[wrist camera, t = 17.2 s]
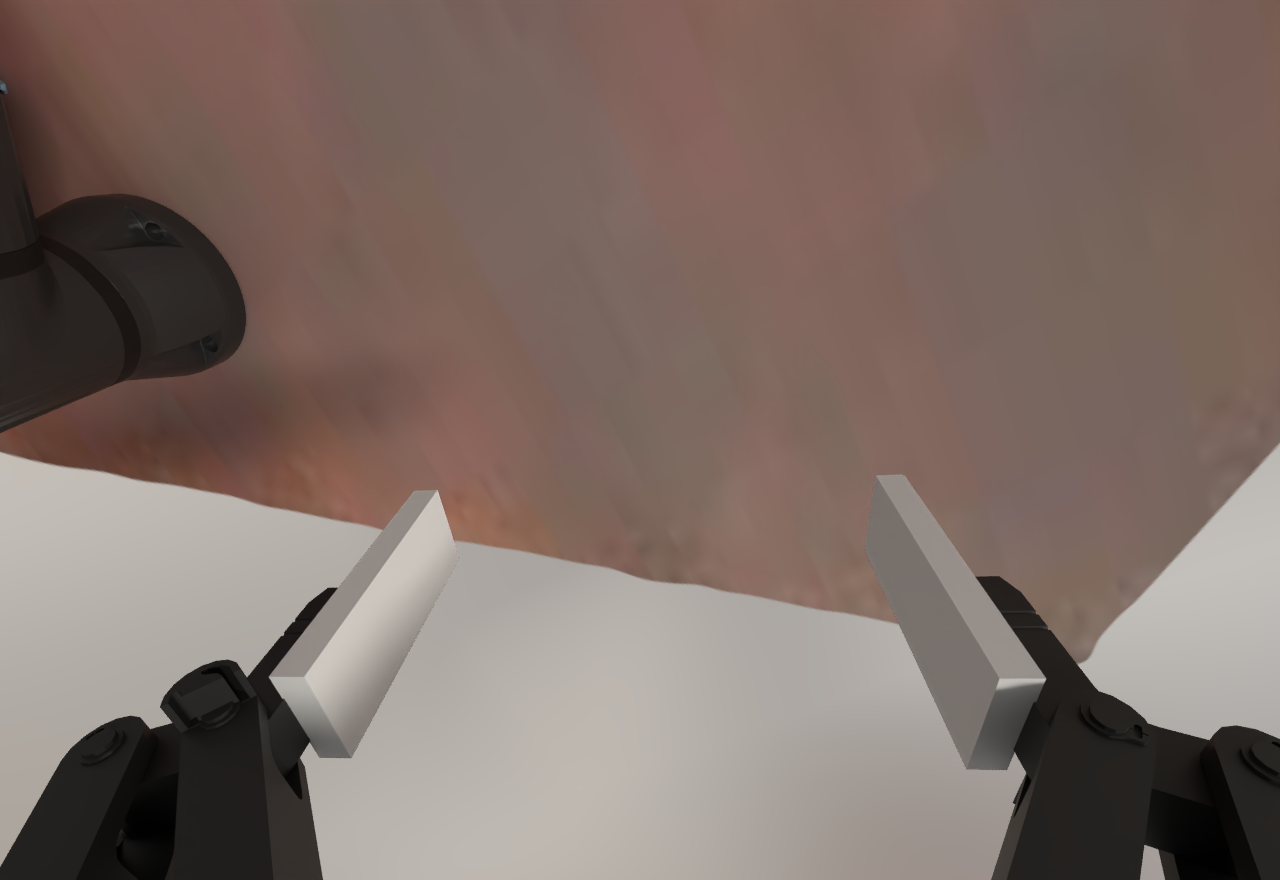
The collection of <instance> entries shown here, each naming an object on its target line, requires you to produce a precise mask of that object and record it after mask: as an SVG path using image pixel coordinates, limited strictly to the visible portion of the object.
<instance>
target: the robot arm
mask: <svg viewBox="0 0 1280 880" xmlns="http://www.w3.org/2000/svg"><path fill="white" fill-rule="evenodd" d="M3 94H8V91H7V87H6V85H5V83H4V82H2V81H1V80H0V433H1V432H4V431H6V430H8V429H11V428H13V427H15V426H18V425H20V424H22V423H25V422H27V421H29V420H32V419H34V418H37V417H39V416H41V415H44V414H46V413H48V412H51V411H53V410H55V409H58V408H60V407H62V406H65V405H67V404H69V403H72V402H74V401H76V400H79V399H81V398H84V397H86V396H88V395H91V394H93V393H96V392H98V391H100V390H103V389H105V388H107V387H110V386H112V385H114V384H117V383H120V382H122V381H125V380H138V379H151V378H163V377H176V376H186V375H191V374H195V373H199V372H202V371H204V370H207V369H209V368H211V367H213V366H215V365H217V364H220V363H222V362H224V361H225V360H227V359H228V358H229V357H230V356H232V355H233V354H234V353H235V351H236V350H237V349H238V347H239V345H240V343H241V341H242V339H243V336H244V332H245V325H246V313H245V306H244V301H243V297H242V293H241V290H240V288H239V285H238V283H237V280H236V278H235V276H234V274H233V272H232V271H231V269H230V267H229V265H228V264H227V262H226V261H225V259H224V258H223V256H222V255H221V254H220V252H219V251H218V250H217V249H216V247H215V246H214V245H213V244H212V243H211V242H210V241H209V240H208V238H207V237H206V236H205V235H204V234H202V233H201V232H200V231H199V230H198V229H197V228H196V227H195V226H194V225H192V224H191V223H190V222H188V221H187V220H186V219H184V218H183V217H182V216H180V215H178V214H177V213H175V212H174V211H172V210H170V209H168V208H167V207H165V206H163V205H160V204H158V203H156V202H153V201H151V200H148V199H145V198H142V197H138V196H133V195H126V194H109V195H96V196H86V197H81V198H77V199H73V200H70V201H68V202H66V203H64V204H62V205H60V206H58V207H56V208H54V209H53V210H51V211H49V212H47V213H45V214H43V215H41V216H40V217H38V218H36V219H35V216H34V212H33V208H32V205H31V201H30V197H29V193H28V189H27V186H26V182H25V178H24V174H23V170H22V167H21V163H20V159H19V155H18V151H17V148H16V144H15V140H14V136H13V132H12V129H11V125H10V121H9V117H8V113H7V110H6V106H5V102H4V98H3ZM865 553H866V555H867V557H868V559H869V561H870V563H871V565H872V568H873V570H874V572H875V574H876V576H877V578H878V580H879V583H880V585H881V587H882V589H883V591H884V593H885V595H886V598H887V600H888V602H889V604H890V606H891V608H892V610H893V613H894V615H895V617H896V619H897V621H898V623H899V626H900V628H901V630H902V632H903V634H904V636H905V638H906V641H907V643H908V645H909V647H910V649H911V651H912V653H913V656H914V658H915V660H916V662H917V664H918V666H919V668H920V671H921V673H922V675H923V677H924V679H925V681H926V683H927V686H928V688H929V690H930V692H931V694H932V696H933V698H934V701H935V703H936V705H937V707H938V709H939V711H940V713H941V716H942V718H943V720H944V722H945V724H946V726H947V728H948V730H949V732H950V735H951V737H952V739H953V741H954V743H955V746H956V748H957V750H958V752H959V754H960V756H961V758H962V761H963V763H964V765H965V767H966V769H979V770H980V769H981V770H985V769H986V770H1007V769H1008V766H1009V764H1010V762H1011V759H1012V757H1013V755H1014V752H1015V753H1016V755H1017V757H1018V759H1019V760H1020V762H1021V764H1022V766H1023V768H1024V769H1025V771H1026V775H1025V777H1024V780H1023V782H1022V784H1021V786H1020V788H1019V790H1018V793H1017V795H1016V797H1015V799H1014V801H1013V803H1014V804H1015V807H1014V810H1013V813H1012V816H1011V820H1010V823H1009V826H1008V829H1007V832H1006V836H1005V838H1004V841H1003V845H1002V848H1001V851H1000V854H999V857H998V860H997V864H996V866H995V870H994V873H993V876H992V879H991V880H1140V874H1141V866H1142V859H1143V851H1144V845H1147V846H1150V847H1153V848H1156V849H1158V850H1159V854H1160V859H1161V863H1162V867H1163V872H1164V876H1165V880H1280V739H1278V738H1276V737H1274V736H1271V735H1269V734H1266V733H1264V732H1261V731H1259V730H1256V729H1251V728H1246V727H1242V726H1228V727H1221V728H1220V729H1219V730H1218V731H1217V732H1216V733H1215V734H1214V735H1213V736H1212V738H1211V739H1210V740H1206V739H1202V738H1199V737H1195V736H1191V735H1187V734H1183V733H1179V732H1176V731H1171V730H1168V729H1164V728H1160V727H1157V726H1154V725H1151V724H1148V723H1147V721H1146V720H1145V719H1144V718H1143V717H1142V716H1141V715H1140V714H1138V713H1137V712H1136V711H1135V710H1134V709H1133V708H1132V707H1130V706H1129V705H1127V704H1125V703H1124V702H1122V701H1120V700H1118V699H1117V698H1115V697H1113V696H1111V695H1108V694H1105V693H1102V692H1099V691H1098V690H1097V689H1096V688H1095V687H1094V686H1093V684H1092V683H1091V682H1090V680H1089V679H1088V678H1087V676H1085V674H1084V673H1083V671H1082V670H1081V669H1080V668H1079V666H1078V665H1077V664H1076V662H1075V661H1074V660H1073V658H1072V657H1071V656H1070V655H1069V653H1068V652H1067V651H1066V649H1065V648H1064V647H1063V646H1062V644H1061V643H1060V642H1059V640H1058V639H1057V638H1056V637H1055V635H1054V634H1053V633H1052V631H1051V630H1048V628H1047V625H1046V624H1045V622H1044V621H1043V620H1042V619H1041V617H1040V616H1039V615H1036V611H1035V610H1034V608H1033V607H1032V606H1031V604H1030V603H1029V602H1028V601H1027V599H1026V598H1025V597H1024V595H1023V594H1022V593H1021V592H1020V591H1019V590H1017V589H1016V588H1014V587H1013V586H1012V585H1010V584H1009V583H1008V582H1006V581H1005V580H1004V579H1002V578H1001V577H999V576H988V577H975V576H974V574H973V573H972V571H971V570H970V569H969V567H968V566H967V564H966V563H965V561H964V560H963V559H962V557H961V556H960V554H959V553H958V551H957V550H956V549H955V547H954V546H953V544H952V543H951V541H950V540H949V539H948V537H947V536H946V534H945V533H944V531H943V530H942V528H941V527H940V526H939V524H938V523H937V521H936V520H935V518H934V517H933V516H932V514H931V513H930V511H929V510H928V508H927V507H926V506H925V504H924V503H923V501H922V500H921V498H920V497H919V496H918V494H917V493H916V491H915V490H914V488H913V487H912V485H911V484H910V483H909V481H908V480H907V478H906V477H905V475H876V479H875V485H874V491H873V498H872V504H871V511H870V517H869V524H868V530H867V537H866V543H865ZM458 560H459V556H458V553H457V550H456V547H455V544H454V540H453V537H452V534H451V531H450V528H449V525H448V522H447V518H446V515H445V512H444V509H443V506H442V503H441V500H440V496H439V493H438V490H427V491H414V492H413V493H412V494H411V495H410V497H409V498H408V499H407V501H406V502H405V503H404V504H403V506H402V507H401V508H400V509H399V511H398V512H397V513H396V515H395V516H394V517H393V518H392V520H391V521H390V522H389V524H388V525H387V526H386V527H385V529H384V530H383V531H382V532H381V534H380V535H379V536H378V538H377V539H376V540H375V541H374V543H373V544H372V545H371V547H370V548H369V549H368V550H367V552H366V553H365V554H364V556H363V557H362V558H361V559H360V561H359V562H358V563H357V564H356V566H355V567H354V568H353V570H352V571H351V572H350V573H349V575H348V576H347V577H346V579H345V580H344V581H343V582H342V584H341V585H340V586H339V588H327V589H326V590H325V591H323V592H322V593H321V594H319V595H318V596H317V597H315V598H314V599H313V600H312V601H310V602H309V603H308V604H307V605H306V607H305V608H304V609H303V610H302V611H301V613H300V614H299V615H298V617H297V618H296V619H295V622H293V623H292V624H291V625H290V626H289V627H288V628H287V630H286V631H285V632H284V636H281V637H280V638H279V639H278V641H277V642H276V643H275V644H274V646H273V647H272V648H271V649H270V650H269V652H268V653H267V654H266V655H265V656H264V658H263V659H262V660H261V661H260V663H259V664H258V665H257V666H256V667H255V669H254V670H253V671H252V672H251V674H250V675H249V676H248V677H246V676H245V675H244V673H243V671H242V670H241V668H240V667H239V665H238V664H237V663H236V662H234V661H231V660H220V661H214V662H212V663H209V664H206V665H203V666H201V667H199V668H197V669H195V670H194V671H192V672H190V673H188V674H187V675H185V676H184V677H183V678H182V679H180V680H179V681H178V682H177V683H176V684H174V685H173V686H172V688H171V689H170V690H169V691H168V692H167V694H166V695H165V696H164V698H163V700H162V703H161V706H160V708H161V709H162V710H163V711H164V713H165V714H166V715H167V716H168V717H169V719H170V720H171V721H172V723H171V724H168V725H164V726H160V727H157V728H153V729H150V728H149V727H148V726H147V725H146V724H145V723H144V721H143V720H142V719H141V718H140V717H135V716H127V717H123V718H118V719H115V720H113V721H111V722H108V723H106V724H104V725H102V726H100V727H98V728H97V729H95V730H94V731H92V732H90V733H89V734H88V735H86V736H85V737H83V738H82V739H81V740H80V741H79V742H78V743H76V744H75V745H74V746H73V747H72V748H71V749H70V750H69V751H68V753H67V754H66V755H65V757H64V758H63V759H62V760H61V762H60V764H59V766H58V767H57V769H56V771H55V773H54V774H53V776H52V778H51V780H50V781H49V783H48V785H47V786H46V788H45V790H44V792H43V794H42V795H41V797H40V799H39V800H38V802H37V804H36V806H35V807H34V809H33V811H32V813H31V815H30V816H29V818H28V820H27V821H26V823H25V825H24V827H23V828H22V830H21V832H20V834H19V835H18V837H17V839H16V841H15V842H14V844H13V846H12V847H11V849H10V851H9V853H8V854H7V856H6V858H5V860H4V861H3V863H2V865H1V867H0V880H323V877H322V871H321V865H320V859H319V852H318V846H317V840H316V834H315V828H314V821H313V816H312V809H311V803H310V796H309V790H308V784H307V778H306V772H305V766H304V765H303V763H302V761H301V759H300V756H301V755H302V753H303V752H304V750H305V748H306V747H307V745H308V744H309V742H310V743H311V745H312V746H313V748H314V750H315V751H316V752H317V754H318V756H319V757H320V758H352V756H353V754H354V752H355V750H356V749H357V747H358V745H359V743H360V741H361V739H362V738H363V736H364V734H365V732H366V730H367V728H368V726H369V725H370V723H371V721H372V719H373V717H374V715H375V713H376V712H377V709H378V708H379V706H380V704H381V702H382V700H383V699H384V697H385V695H386V693H387V691H388V689H389V687H390V686H391V684H392V682H393V680H394V678H395V676H396V675H397V673H398V671H399V669H400V667H401V665H402V663H403V662H404V660H405V658H406V656H407V654H408V652H409V651H410V649H411V647H412V645H413V643H414V641H415V639H416V638H417V636H418V634H419V632H420V630H421V628H422V626H423V625H424V623H425V621H426V619H427V617H428V615H429V613H430V612H431V610H432V608H433V606H434V604H435V602H436V600H437V599H438V597H439V595H440V593H441V591H442V589H443V588H444V586H445V584H446V582H447V580H448V578H449V576H450V575H451V573H452V571H453V569H454V567H455V565H456V563H457V562H458Z"/></svg>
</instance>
